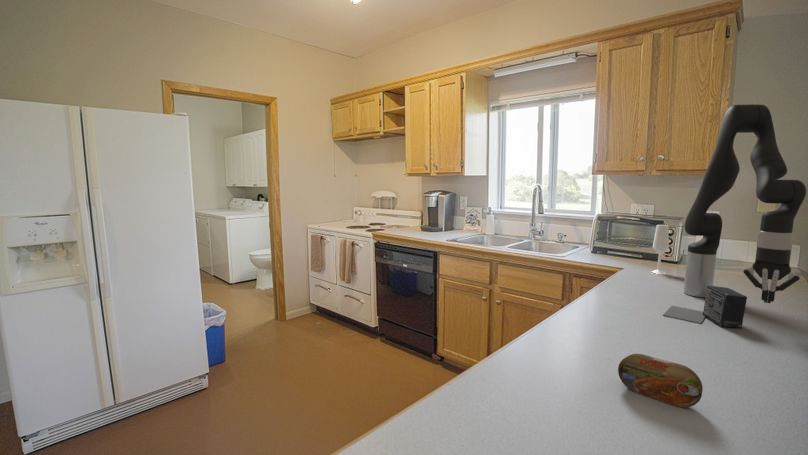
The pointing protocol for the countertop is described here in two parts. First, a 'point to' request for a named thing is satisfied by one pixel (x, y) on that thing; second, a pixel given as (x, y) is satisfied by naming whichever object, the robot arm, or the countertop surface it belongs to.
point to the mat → (685, 314)
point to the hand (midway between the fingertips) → (767, 302)
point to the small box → (724, 306)
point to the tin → (661, 380)
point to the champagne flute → (660, 244)
